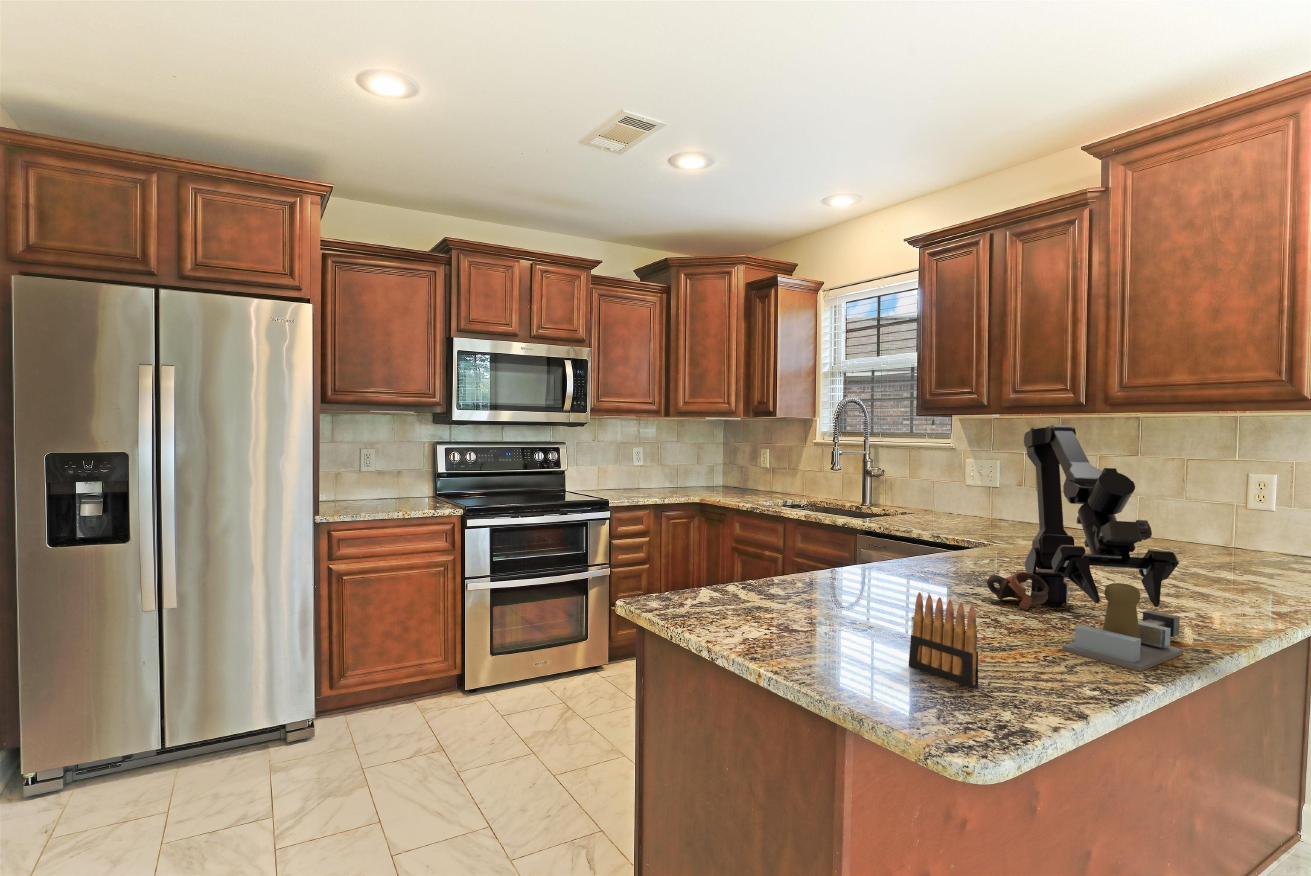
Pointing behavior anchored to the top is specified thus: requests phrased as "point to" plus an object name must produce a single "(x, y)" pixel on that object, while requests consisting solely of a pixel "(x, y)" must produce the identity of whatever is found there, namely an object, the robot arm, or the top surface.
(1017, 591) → the brown twisted loop knot
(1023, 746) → the top surface
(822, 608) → the top surface
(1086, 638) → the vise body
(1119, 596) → the cork
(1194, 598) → the top surface
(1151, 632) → the vise jaw
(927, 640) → the ammunition clip
